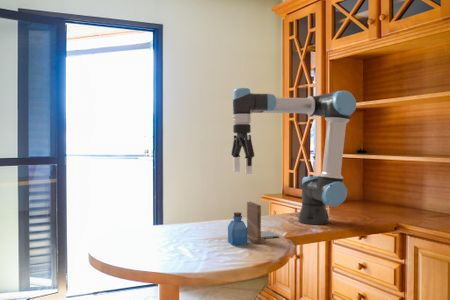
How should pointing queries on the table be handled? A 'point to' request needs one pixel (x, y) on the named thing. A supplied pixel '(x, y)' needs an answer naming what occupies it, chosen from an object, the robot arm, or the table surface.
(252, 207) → the walnut screen
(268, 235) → the slate tile
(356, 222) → the table surface
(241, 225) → the perfume bottle
